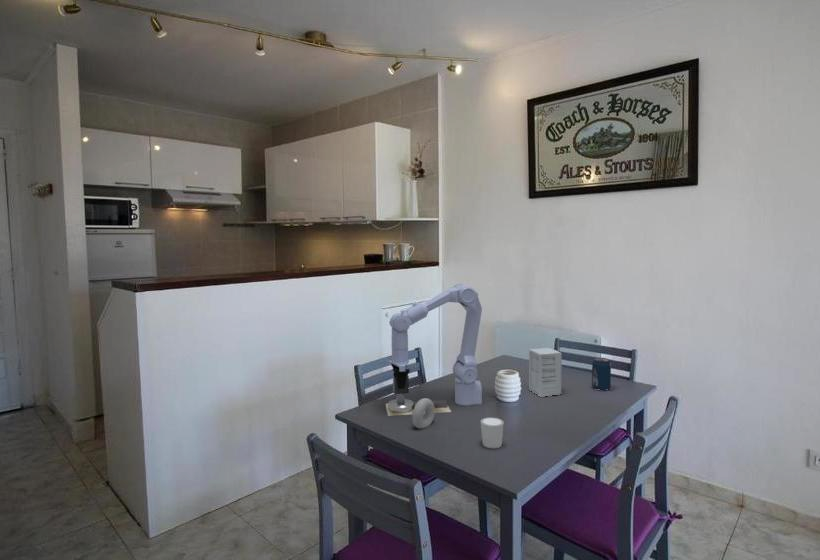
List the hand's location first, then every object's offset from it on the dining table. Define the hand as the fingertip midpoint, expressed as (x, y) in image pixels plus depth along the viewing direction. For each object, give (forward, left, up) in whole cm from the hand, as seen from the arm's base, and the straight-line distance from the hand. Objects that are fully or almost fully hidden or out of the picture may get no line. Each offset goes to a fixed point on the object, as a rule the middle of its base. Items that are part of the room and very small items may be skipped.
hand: (400, 385), depth 167 cm
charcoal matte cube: (0, 0, -2) cm, 2 cm away
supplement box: (-58, -11, -10) cm, 60 cm away
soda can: (-82, -12, -10) cm, 83 cm away
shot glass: (-24, +30, -10) cm, 40 cm away
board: (-6, 0, -9) cm, 11 cm away
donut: (-6, +16, -10) cm, 19 cm away
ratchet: (-6, 0, -8) cm, 10 cm away
